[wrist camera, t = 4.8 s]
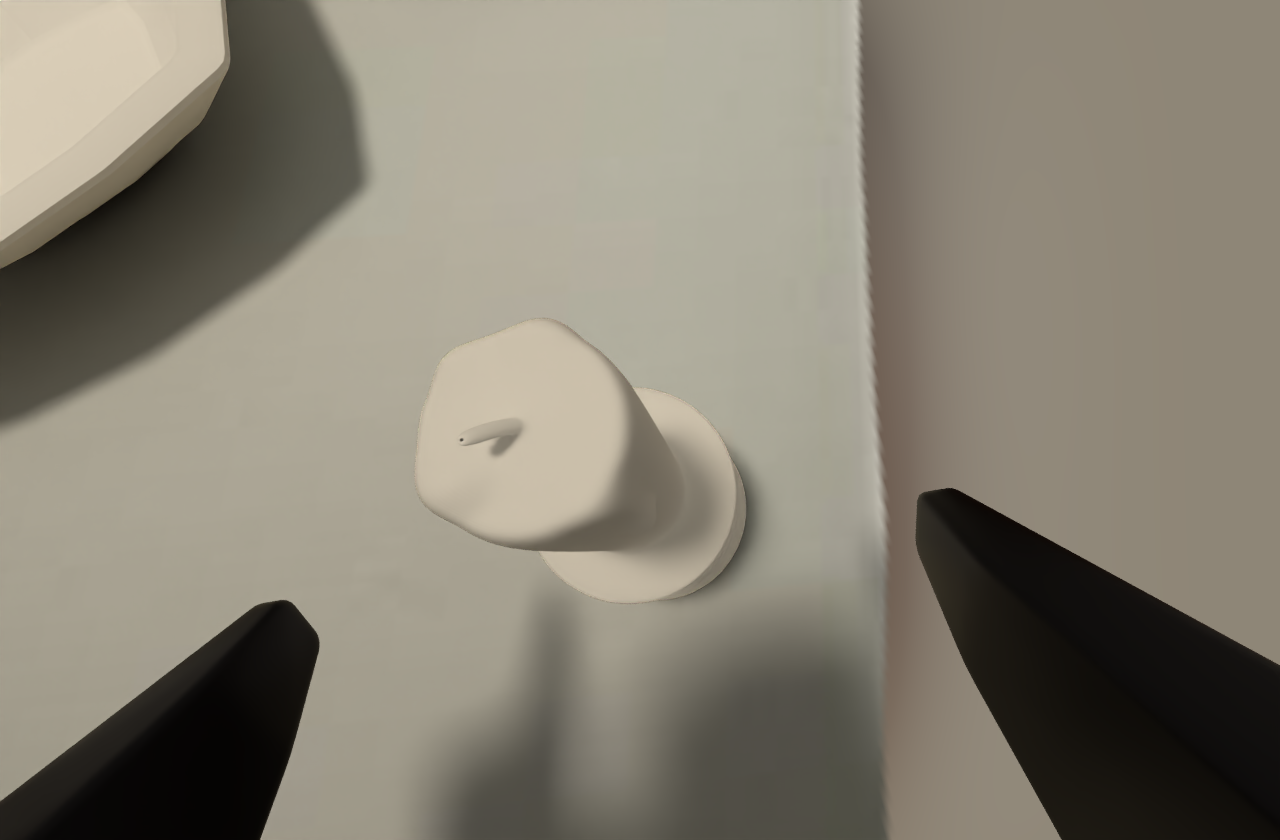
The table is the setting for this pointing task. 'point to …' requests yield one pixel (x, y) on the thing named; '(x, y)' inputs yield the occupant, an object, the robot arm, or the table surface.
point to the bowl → (95, 102)
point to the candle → (578, 466)
